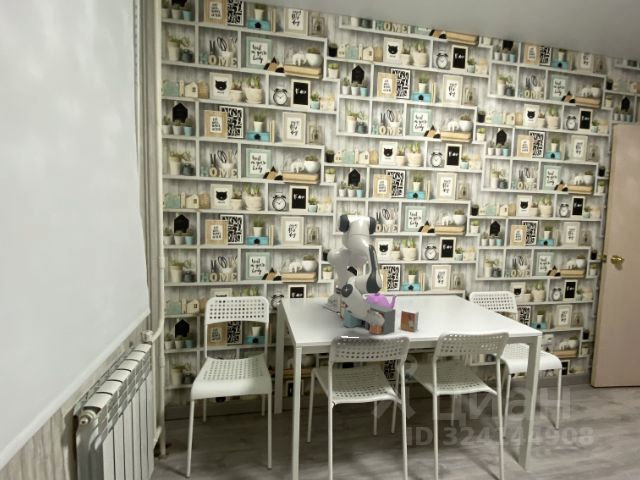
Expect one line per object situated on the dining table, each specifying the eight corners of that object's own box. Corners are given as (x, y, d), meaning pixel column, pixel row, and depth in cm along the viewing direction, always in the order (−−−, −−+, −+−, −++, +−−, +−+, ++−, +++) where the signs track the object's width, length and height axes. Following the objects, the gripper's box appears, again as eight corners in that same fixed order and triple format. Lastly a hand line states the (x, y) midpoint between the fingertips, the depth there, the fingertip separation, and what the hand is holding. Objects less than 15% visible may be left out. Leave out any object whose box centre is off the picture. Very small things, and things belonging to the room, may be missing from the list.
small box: (400, 329, 223) (401, 310, 222) (403, 327, 228) (404, 308, 227) (414, 332, 219) (415, 313, 218) (417, 329, 223) (418, 311, 222)
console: (384, 334, 213) (385, 312, 212) (349, 323, 232) (350, 302, 230) (394, 331, 219) (395, 309, 218) (360, 320, 237) (361, 299, 236)
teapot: (397, 321, 238) (398, 298, 237) (360, 317, 243) (361, 295, 241) (398, 311, 260) (399, 290, 259) (364, 308, 264) (364, 287, 263)
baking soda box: (340, 316, 244) (341, 290, 242) (350, 316, 245) (351, 290, 244) (345, 321, 234) (346, 294, 233) (355, 320, 236) (357, 293, 234)
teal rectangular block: (350, 327, 222) (350, 310, 221) (343, 325, 226) (344, 307, 225) (361, 324, 228) (362, 307, 227) (354, 322, 231) (355, 305, 230)
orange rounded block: (377, 334, 212) (378, 315, 211) (369, 331, 216) (370, 313, 215) (388, 331, 218) (389, 313, 217) (380, 328, 222) (381, 310, 221)
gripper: (380, 308, 199) (391, 324, 207) (350, 299, 215) (361, 314, 222) (373, 318, 197) (385, 334, 204) (343, 309, 212) (355, 324, 220)
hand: (373, 324), depth 213 cm, fingers closed, pressing on orange rounded block
